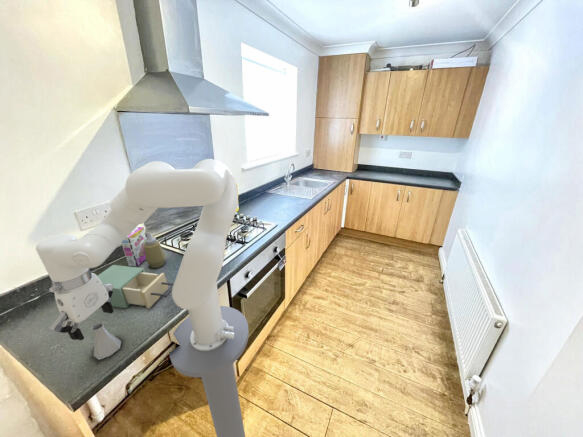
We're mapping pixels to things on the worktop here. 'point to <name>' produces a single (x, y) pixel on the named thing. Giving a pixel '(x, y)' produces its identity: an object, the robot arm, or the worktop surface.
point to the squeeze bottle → (153, 252)
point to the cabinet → (119, 281)
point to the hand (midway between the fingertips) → (94, 324)
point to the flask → (104, 341)
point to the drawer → (146, 289)
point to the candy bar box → (135, 247)
